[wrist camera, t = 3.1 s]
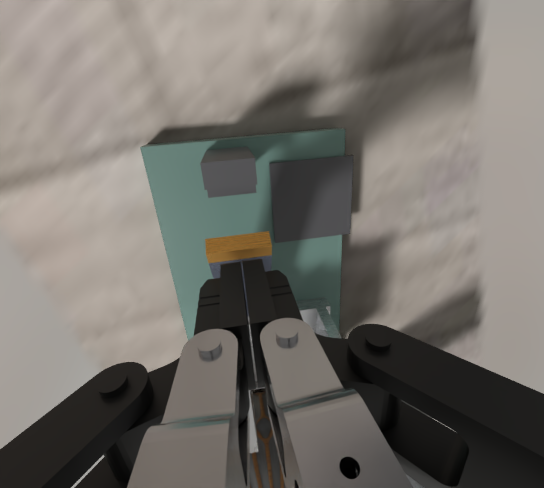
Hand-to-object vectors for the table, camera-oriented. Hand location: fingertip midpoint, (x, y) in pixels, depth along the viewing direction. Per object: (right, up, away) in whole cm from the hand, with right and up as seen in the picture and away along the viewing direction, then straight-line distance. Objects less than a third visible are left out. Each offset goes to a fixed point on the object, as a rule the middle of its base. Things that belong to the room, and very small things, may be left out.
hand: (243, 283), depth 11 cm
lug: (-1, +5, +4) cm, 7 cm away
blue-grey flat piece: (0, 0, +3) cm, 3 cm away
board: (0, 0, +8) cm, 8 cm away
